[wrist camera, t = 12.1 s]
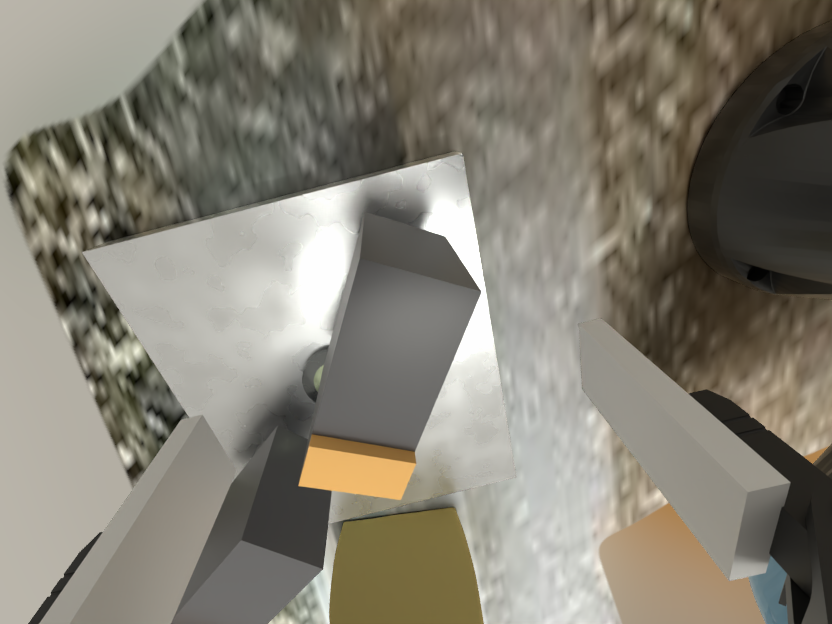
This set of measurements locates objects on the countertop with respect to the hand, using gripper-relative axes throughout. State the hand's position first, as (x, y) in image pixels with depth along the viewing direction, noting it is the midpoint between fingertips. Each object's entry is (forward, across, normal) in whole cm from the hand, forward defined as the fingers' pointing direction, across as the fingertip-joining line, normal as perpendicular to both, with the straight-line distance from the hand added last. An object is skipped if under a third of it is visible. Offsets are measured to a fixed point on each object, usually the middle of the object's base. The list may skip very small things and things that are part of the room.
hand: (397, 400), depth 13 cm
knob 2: (+10, -1, 0) cm, 10 cm away
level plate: (+12, -5, -6) cm, 14 cm away
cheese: (+12, -6, -26) cm, 29 cm away
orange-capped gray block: (+10, -11, -10) cm, 17 cm away
